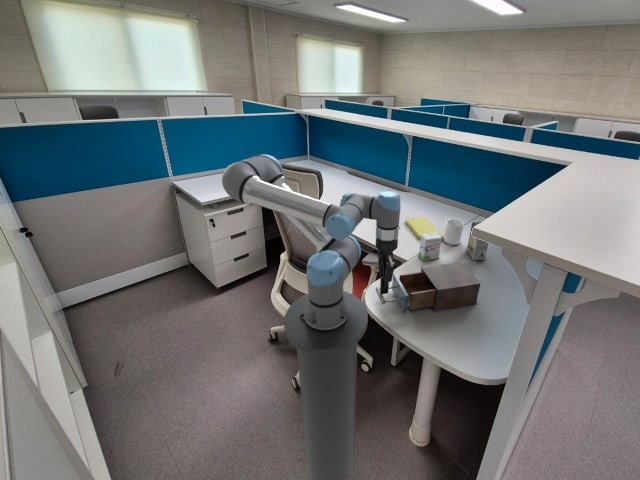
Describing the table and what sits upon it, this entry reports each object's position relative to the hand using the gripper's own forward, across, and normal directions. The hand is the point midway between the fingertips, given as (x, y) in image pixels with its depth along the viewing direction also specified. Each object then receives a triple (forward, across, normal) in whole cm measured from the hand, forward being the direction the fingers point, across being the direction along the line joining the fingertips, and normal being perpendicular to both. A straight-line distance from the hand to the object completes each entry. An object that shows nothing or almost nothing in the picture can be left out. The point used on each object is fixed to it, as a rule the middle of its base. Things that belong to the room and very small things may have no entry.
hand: (384, 292), depth 111 cm
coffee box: (+7, +24, -56) cm, 61 cm away
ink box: (+7, +27, -32) cm, 42 cm away
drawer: (+5, 0, -10) cm, 11 cm away
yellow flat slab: (+7, +53, -41) cm, 67 cm away
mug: (+7, +40, -50) cm, 65 cm away
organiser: (+6, 0, -26) cm, 27 cm away
